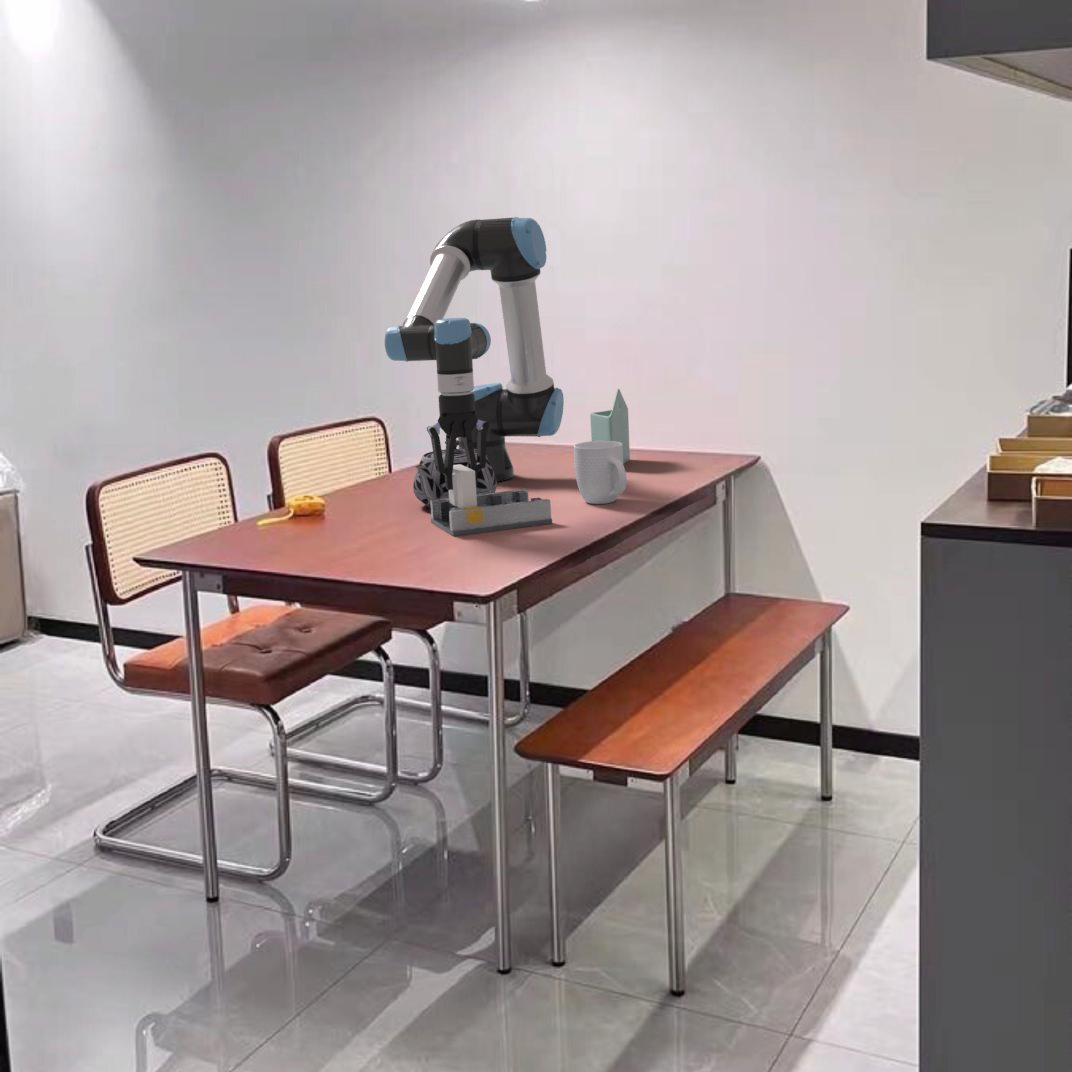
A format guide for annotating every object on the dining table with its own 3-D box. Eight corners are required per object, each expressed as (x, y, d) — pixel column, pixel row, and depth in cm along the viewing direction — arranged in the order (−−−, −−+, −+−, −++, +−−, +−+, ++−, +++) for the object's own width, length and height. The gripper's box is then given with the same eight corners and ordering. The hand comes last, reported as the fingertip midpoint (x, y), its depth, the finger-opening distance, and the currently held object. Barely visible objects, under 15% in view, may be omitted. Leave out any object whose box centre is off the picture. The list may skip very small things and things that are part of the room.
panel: (449, 502, 317) (447, 465, 315) (462, 500, 318) (460, 464, 316) (463, 510, 308) (461, 472, 306) (477, 508, 309) (475, 470, 307)
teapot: (382, 517, 328) (377, 450, 325) (451, 491, 354) (448, 429, 351) (456, 521, 319) (452, 453, 316) (521, 494, 346) (518, 431, 343)
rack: (431, 522, 320) (429, 498, 319) (526, 510, 327) (524, 487, 326) (453, 536, 305) (451, 511, 304) (552, 523, 312) (551, 499, 311)
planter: (601, 459, 388) (598, 384, 384) (630, 459, 385) (627, 384, 381) (583, 470, 373) (580, 393, 368) (613, 471, 370) (610, 392, 366)
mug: (644, 503, 328) (643, 445, 326) (605, 511, 323) (602, 452, 320) (605, 494, 341) (603, 438, 338) (566, 501, 335) (563, 444, 332)
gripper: (424, 398, 302) (431, 510, 307) (498, 391, 307) (504, 502, 312) (414, 394, 309) (421, 504, 314) (486, 388, 314) (492, 496, 319)
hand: (462, 503), depth 313 cm, fingers closed on panel, 3 cm apart
